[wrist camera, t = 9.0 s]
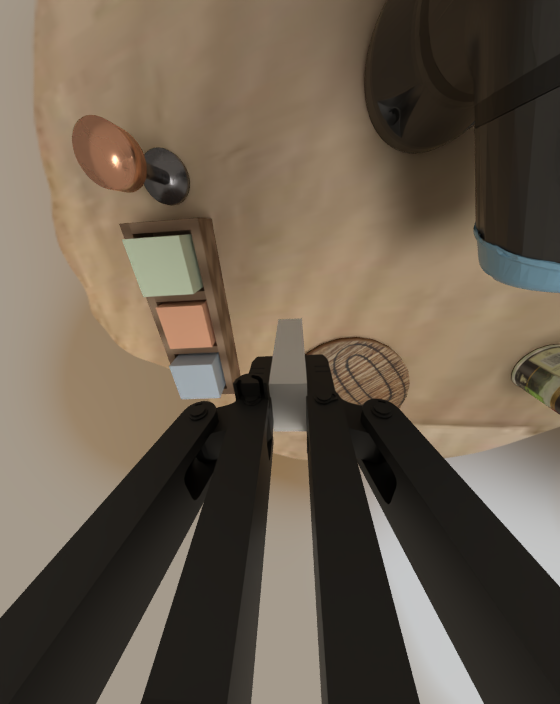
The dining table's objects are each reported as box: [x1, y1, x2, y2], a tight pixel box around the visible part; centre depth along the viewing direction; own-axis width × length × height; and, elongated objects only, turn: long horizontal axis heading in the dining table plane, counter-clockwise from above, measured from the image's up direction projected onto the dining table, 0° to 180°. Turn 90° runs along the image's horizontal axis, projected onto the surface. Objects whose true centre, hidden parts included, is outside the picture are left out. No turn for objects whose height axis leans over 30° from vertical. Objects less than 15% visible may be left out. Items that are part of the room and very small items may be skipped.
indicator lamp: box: [72, 115, 190, 205], centre depth 25 cm, size 6×6×12 cm
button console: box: [119, 218, 240, 394], centre depth 37 cm, size 28×10×6 cm, turn 4°
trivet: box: [306, 337, 410, 408], centre depth 47 cm, size 25×25×2 cm
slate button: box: [169, 352, 226, 399], centre depth 38 cm, size 7×7×4 cm
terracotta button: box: [156, 299, 216, 349], centre depth 35 cm, size 7×7×4 cm
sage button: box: [122, 234, 203, 297], centre depth 29 cm, size 7×7×4 cm
